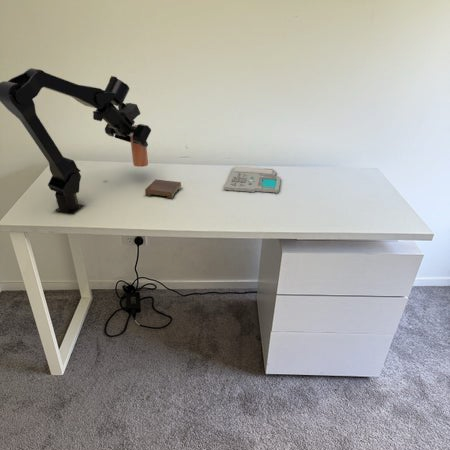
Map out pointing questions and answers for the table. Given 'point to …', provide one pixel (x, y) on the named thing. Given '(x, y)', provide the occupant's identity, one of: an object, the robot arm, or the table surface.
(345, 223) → the table surface
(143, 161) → the vase
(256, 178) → the office telephone
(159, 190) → the stand
